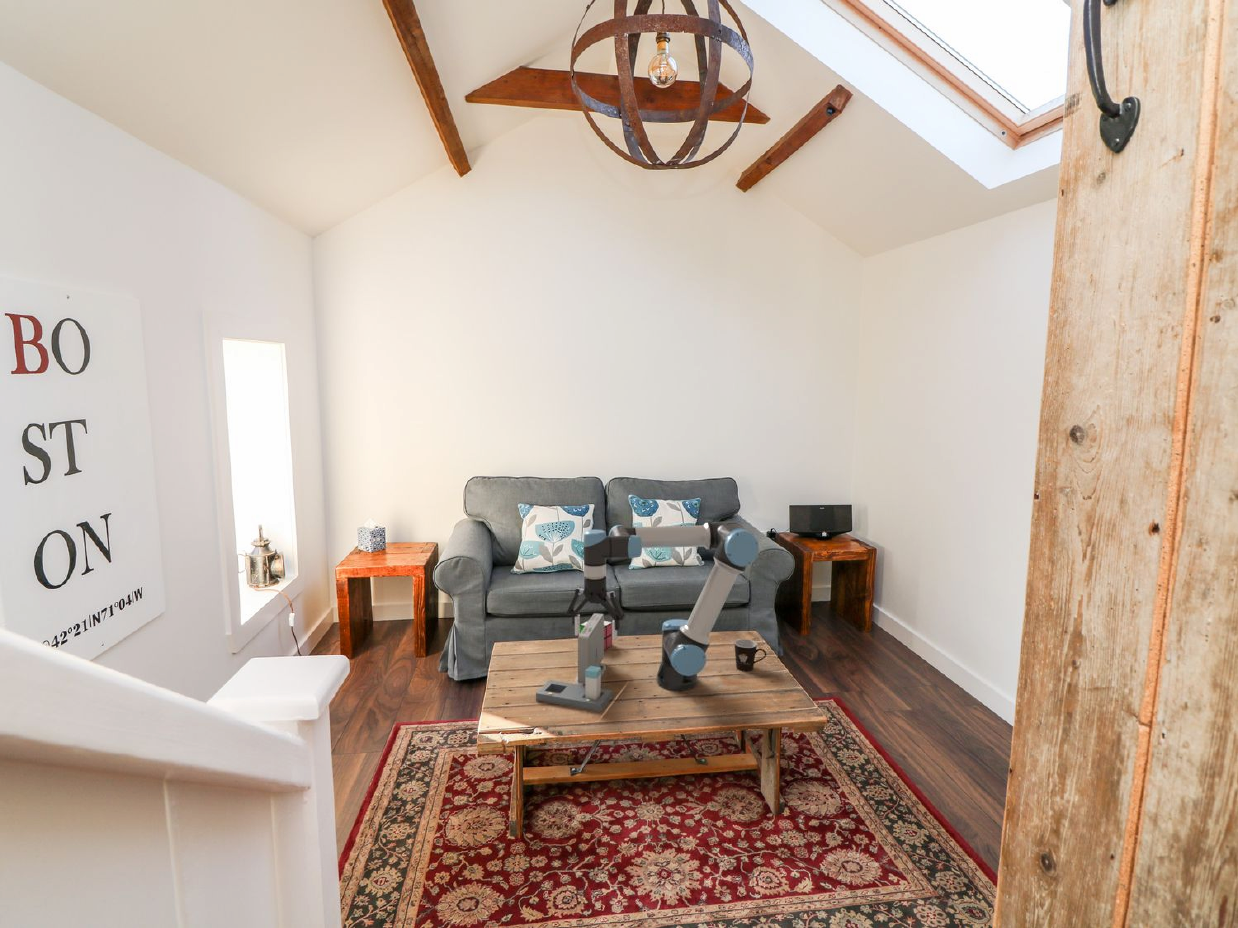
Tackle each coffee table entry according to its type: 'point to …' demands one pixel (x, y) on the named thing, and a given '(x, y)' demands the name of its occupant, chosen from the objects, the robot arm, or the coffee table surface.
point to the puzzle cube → (606, 633)
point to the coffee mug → (746, 654)
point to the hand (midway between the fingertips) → (595, 636)
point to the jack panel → (572, 696)
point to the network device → (591, 646)
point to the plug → (593, 683)
